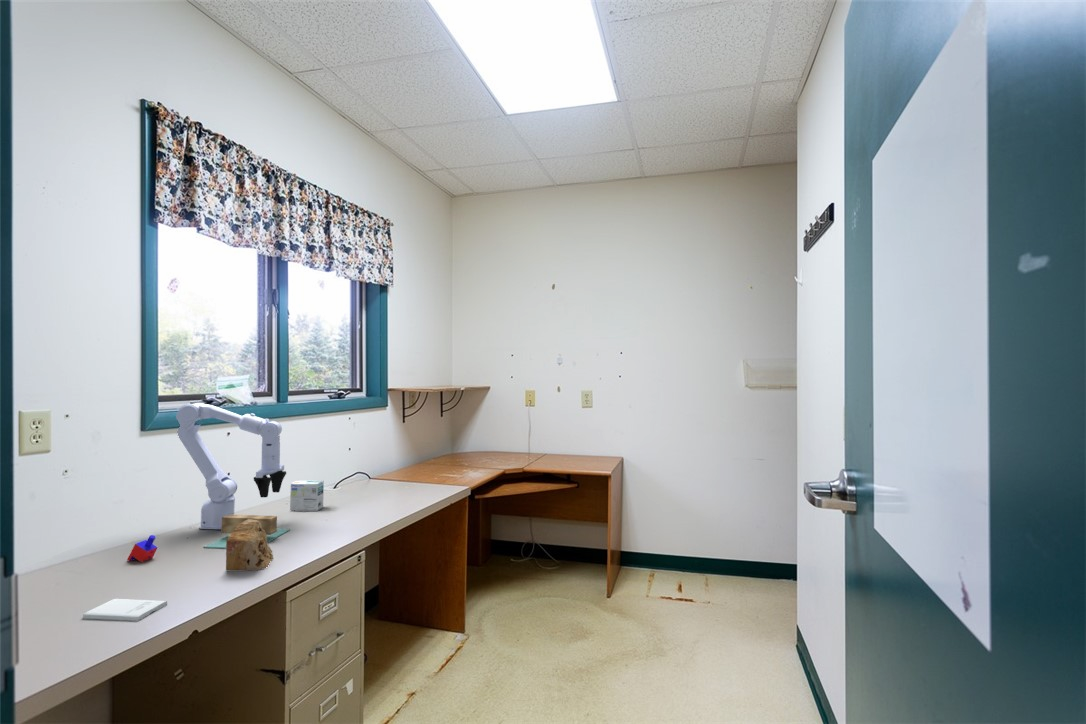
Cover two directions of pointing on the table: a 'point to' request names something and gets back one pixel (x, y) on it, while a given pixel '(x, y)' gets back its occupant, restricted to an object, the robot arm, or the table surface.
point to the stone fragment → (248, 547)
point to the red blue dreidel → (143, 550)
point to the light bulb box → (306, 495)
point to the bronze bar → (233, 520)
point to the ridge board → (222, 542)
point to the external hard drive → (124, 609)
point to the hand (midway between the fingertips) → (270, 494)
